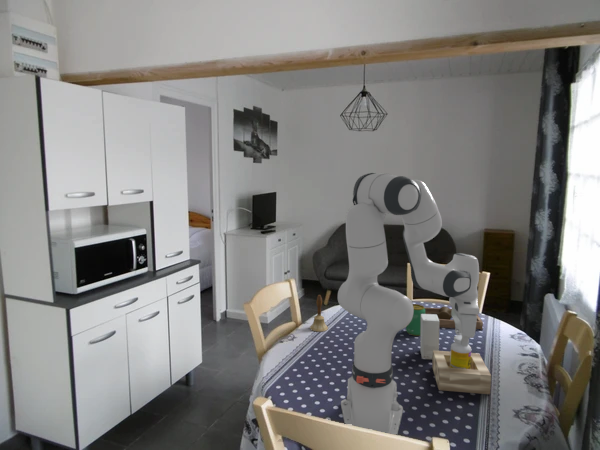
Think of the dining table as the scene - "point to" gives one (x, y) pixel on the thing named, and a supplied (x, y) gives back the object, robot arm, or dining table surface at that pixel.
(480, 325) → the walnut tray frame
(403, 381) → the dining table surface
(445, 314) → the kendama
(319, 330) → the hand bell
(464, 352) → the supplement bottle
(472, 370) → the birch tray frame
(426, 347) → the skincare box
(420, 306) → the beverage can
